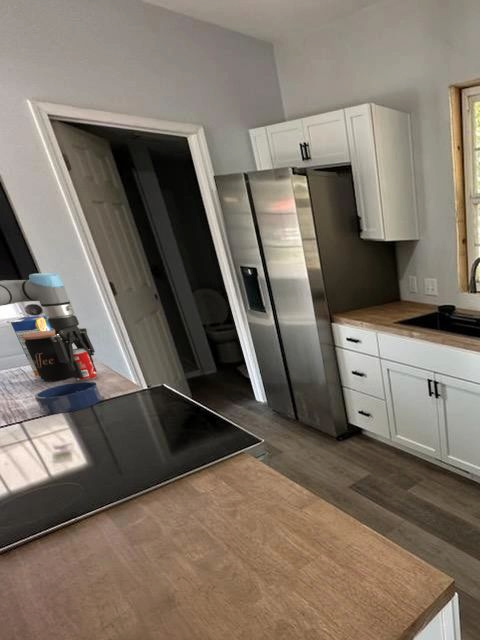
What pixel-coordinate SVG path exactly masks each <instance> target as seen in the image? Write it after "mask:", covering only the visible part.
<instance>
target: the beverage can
mask: <svg viewBox="0 0 480 640" xmlns="http://www.w3.org/2000/svg"><path fill="white" fill-rule="evenodd" d="M73 355H74V361H77V363H78V365H79V368H80V370H81V372H82V375H83V378H75V380H76V381H78V382H90V381H92V380H95V379H97V376H98V374H97V372H95V370H94V367H93V365H92V363H91V360H90V358H89V355H88V353H87V351H86V350H84V349H83V348H77V347H76V348H73Z"/></svg>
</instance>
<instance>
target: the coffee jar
mask: <svg viewBox="0 0 480 640" xmlns="http://www.w3.org/2000/svg"><path fill="white" fill-rule="evenodd" d="M54 335H55V330H54V329H52V330H50V331H41V332H34V333H29V334H25V335H23V336H22V338H23V339H24V340H25V345H26V347H27V350H28V352H29V354H30V356H31V358H32V360H33V363H34V365H35V367H36V369H37V371H38V374H39V376H38V377H39V379H40V380H41V381H43V382H46V383H51V382H52V383H53V382H61V381H67V380H70V379H74V377H73V375H72V373H71V371H70V370H69V368H68V366H67V363H63V362H59V359H58V357H57V354H56V351H55V349H54V346H53V343H52V342H51V341H50V339H49V337H53V336H54ZM64 342H65V341H64Z"/></svg>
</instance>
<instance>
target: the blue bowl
mask: <svg viewBox="0 0 480 640" xmlns="http://www.w3.org/2000/svg"><path fill="white" fill-rule="evenodd" d="M34 399H35V401H36V403H37V405H38V407H39V409H40V411H41V413H42V414H45V415H52V414H53V415H55V414H56V415H57V414H63V413H69V412H74V411H78V410H82V409H86V408H88V407H92V406H95V405H97V404H98V403H100V402H101V401H102V400H103V397H102V394H101V391H100V389H99V387H98V384H97V383H96V382H94V381H78V382H71V383H65V384H61V385H56V386H53V387H49V388H45V389H43V390H41V391H39V392H37V393H35V394H34Z"/></svg>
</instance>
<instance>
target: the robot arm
mask: <svg viewBox="0 0 480 640" xmlns="http://www.w3.org/2000/svg"><path fill="white" fill-rule="evenodd" d="M28 278H29V279H13V280H12V279H11V280H8V279H3V280H0V307H2V306H8V305H12V304H18V303H25V302H38V303H39V304H40V306H41V309H42V311H43V314H44V315H45V316H46V317H47V320H48V323H49V325H50V327H51V328H52V330H55V335H54V336H53V337H49V339H50V341H51V342H52V343H53V346H54V349H55V351H56V354H57V357H58V359H59V362H63V363H67V366H68V368H69V370H70V371H71V373H72V375H73V379H76V378H83V375H82V372H81V370H80V368H79V365H78V363H77V361H74V355H73V349H74V348H73V345H74V346H75V347H76V349H77V348H83V349H84V350H86V351H87V353H88V355H89V358H90V360H91V363H92V365H93V367H94V370H95V372H96V373H98V372H97V369H96V367H95V364H94V360H93V357H92V356H95V352H96V350H95V348H94V346H93V344H92V342H91V339H90V338H89V335H88V331H87V328H80V327H78V326H79V325H80V323H79V319H78V318H77V316H76V315H74V314H75V311H74V308H73V305H72V303H71V301H70V298H69V295H68V293H67V291H66V288H65V284H64V283H63V280H62V279H61V277H60V275H59V274H58V273H57V272H42V273H41V272H40V273H39V272H38V273H32V274H29V275H28ZM64 341H65V342H64Z"/></svg>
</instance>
